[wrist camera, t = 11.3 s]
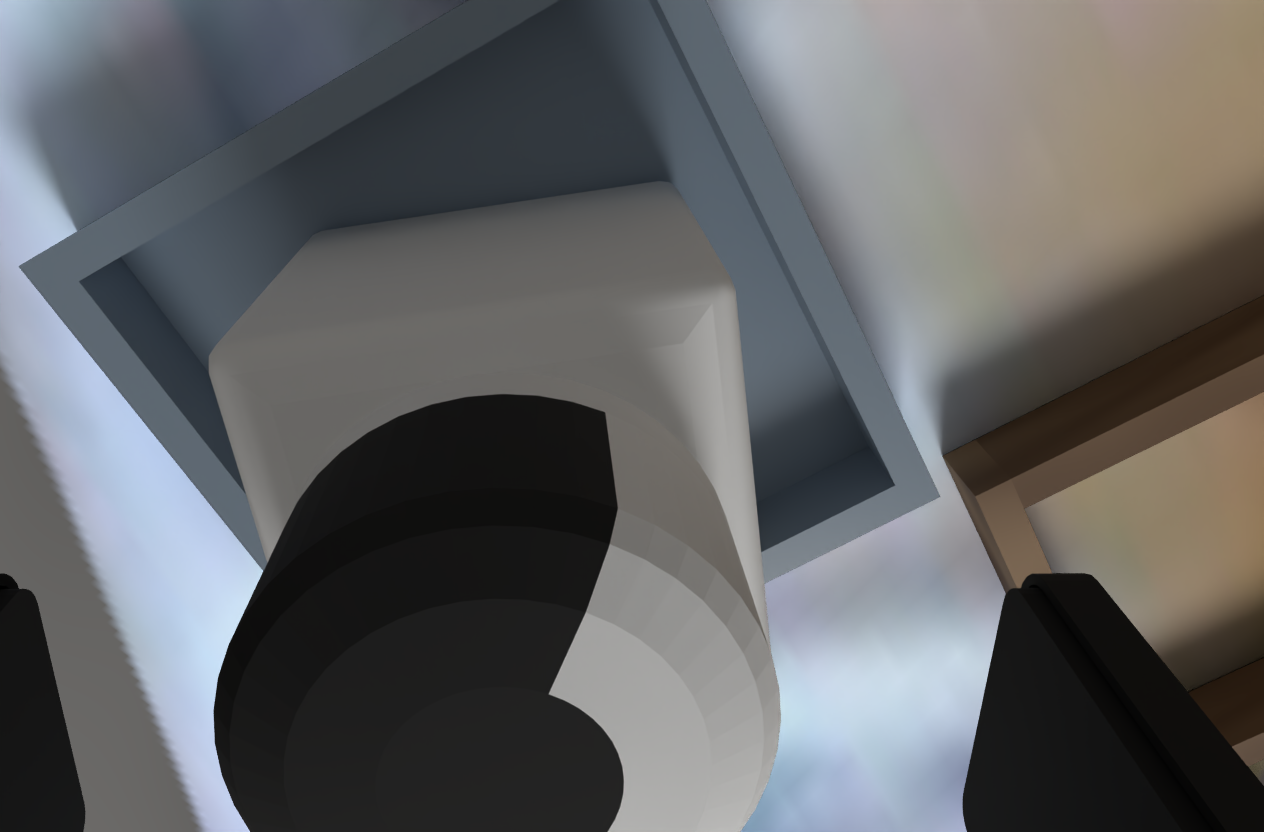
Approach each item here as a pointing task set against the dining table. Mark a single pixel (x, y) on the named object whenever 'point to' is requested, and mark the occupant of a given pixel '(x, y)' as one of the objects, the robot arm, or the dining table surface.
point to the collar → (1105, 435)
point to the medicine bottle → (498, 529)
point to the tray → (491, 175)
